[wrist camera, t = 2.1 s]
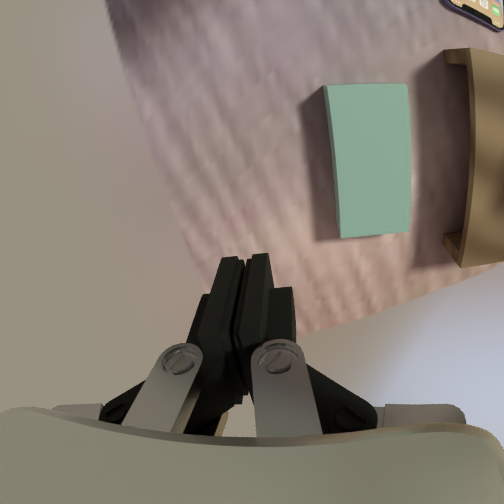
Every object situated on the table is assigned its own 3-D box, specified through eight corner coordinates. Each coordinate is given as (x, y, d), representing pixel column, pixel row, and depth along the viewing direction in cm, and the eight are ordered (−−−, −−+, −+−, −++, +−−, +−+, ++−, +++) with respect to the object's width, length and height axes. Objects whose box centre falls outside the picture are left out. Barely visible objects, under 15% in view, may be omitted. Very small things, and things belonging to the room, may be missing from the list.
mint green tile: (322, 85, 20) (326, 85, 18) (395, 83, 19) (406, 84, 17) (336, 225, 26) (340, 238, 24) (400, 219, 25) (409, 231, 23)
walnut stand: (443, 49, 17) (469, 47, 13) (495, 58, 16) (523, 60, 12) (442, 244, 26) (460, 268, 23) (487, 238, 25) (507, 260, 22)
